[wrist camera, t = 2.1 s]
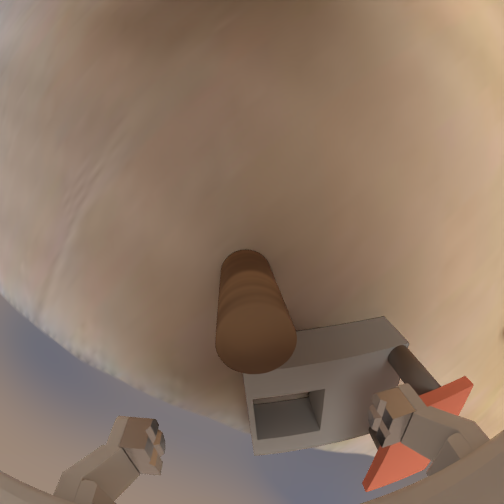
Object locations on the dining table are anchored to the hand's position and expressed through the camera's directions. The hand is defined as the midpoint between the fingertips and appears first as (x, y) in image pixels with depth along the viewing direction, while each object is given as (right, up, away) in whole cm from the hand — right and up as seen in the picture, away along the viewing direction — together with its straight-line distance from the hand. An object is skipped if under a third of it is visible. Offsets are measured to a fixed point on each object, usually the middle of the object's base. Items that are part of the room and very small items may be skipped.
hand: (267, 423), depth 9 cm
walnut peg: (-1, +4, +14) cm, 15 cm away
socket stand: (+6, -6, +18) cm, 20 cm away
